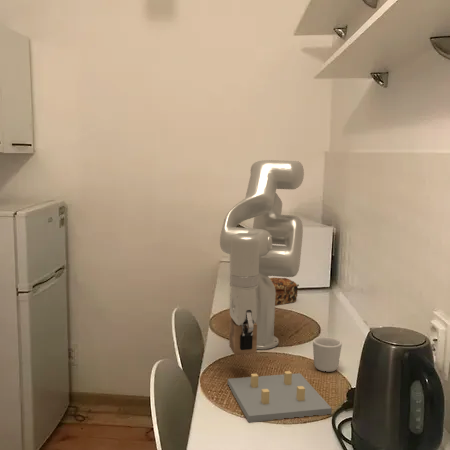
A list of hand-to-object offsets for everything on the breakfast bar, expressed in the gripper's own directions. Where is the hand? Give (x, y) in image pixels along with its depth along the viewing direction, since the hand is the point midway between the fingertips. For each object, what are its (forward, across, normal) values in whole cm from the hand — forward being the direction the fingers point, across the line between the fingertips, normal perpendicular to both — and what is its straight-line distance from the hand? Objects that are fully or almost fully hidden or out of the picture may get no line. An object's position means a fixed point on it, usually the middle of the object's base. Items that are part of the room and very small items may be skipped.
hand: (242, 343), depth 144 cm
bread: (+12, -66, +31) cm, 73 cm away
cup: (+9, 0, +25) cm, 27 cm away
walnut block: (+2, 0, 0) cm, 2 cm away
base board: (+8, +16, +4) cm, 19 cm away
